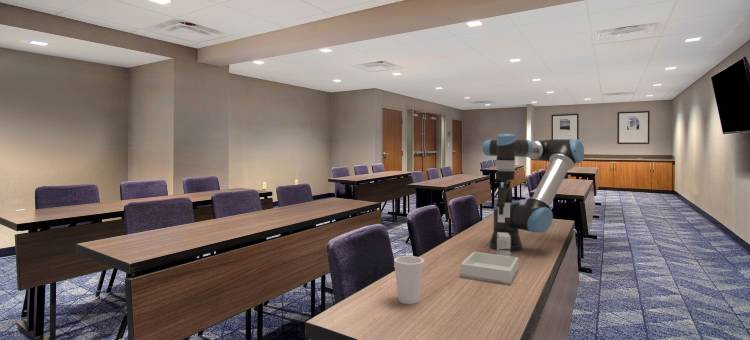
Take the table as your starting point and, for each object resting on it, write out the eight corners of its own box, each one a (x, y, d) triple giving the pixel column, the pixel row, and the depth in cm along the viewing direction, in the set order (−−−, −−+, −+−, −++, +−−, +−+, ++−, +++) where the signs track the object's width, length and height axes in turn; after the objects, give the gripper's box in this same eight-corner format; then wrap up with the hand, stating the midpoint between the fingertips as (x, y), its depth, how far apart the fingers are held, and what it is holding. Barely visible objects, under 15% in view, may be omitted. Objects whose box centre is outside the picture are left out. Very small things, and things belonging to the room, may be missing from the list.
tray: (473, 263, 166) (473, 251, 165) (518, 269, 157) (518, 257, 157) (460, 277, 148) (460, 264, 148) (510, 285, 139) (510, 271, 139)
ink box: (510, 264, 165) (511, 236, 164) (498, 263, 166) (498, 235, 165) (507, 258, 173) (508, 232, 173) (496, 257, 174) (496, 231, 174)
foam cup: (392, 294, 130) (392, 256, 129) (419, 294, 130) (420, 255, 130) (396, 306, 120) (396, 264, 119) (426, 305, 121) (426, 264, 120)
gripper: (501, 168, 180) (500, 214, 181) (490, 171, 158) (489, 223, 159) (518, 169, 176) (517, 216, 178) (509, 172, 154) (508, 225, 156)
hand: (503, 219), depth 168 cm, fingers open, 13 cm apart
